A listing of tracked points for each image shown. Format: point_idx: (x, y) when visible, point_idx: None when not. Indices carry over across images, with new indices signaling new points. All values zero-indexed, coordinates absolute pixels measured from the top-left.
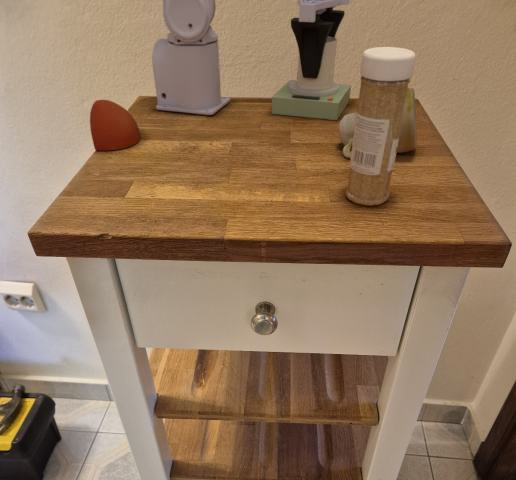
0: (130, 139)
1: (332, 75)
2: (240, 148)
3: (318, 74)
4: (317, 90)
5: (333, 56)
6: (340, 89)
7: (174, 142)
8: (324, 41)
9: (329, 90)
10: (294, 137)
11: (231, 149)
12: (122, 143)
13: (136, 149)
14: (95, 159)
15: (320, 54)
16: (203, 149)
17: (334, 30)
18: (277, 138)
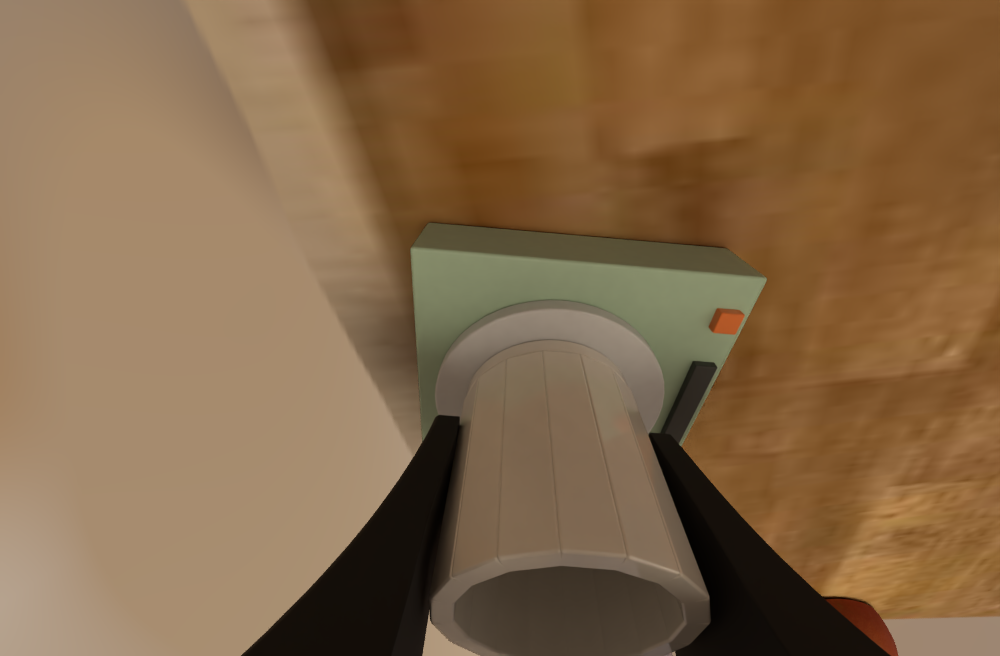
0: (868, 615)
1: (582, 375)
2: (949, 466)
3: (654, 440)
4: (634, 387)
5: (609, 458)
6: (517, 292)
7: (850, 561)
8: (860, 634)
9: (631, 343)
10: (901, 364)
11: (948, 480)
12: (879, 617)
13: (875, 592)
14: (911, 617)
15: (762, 542)
16: (922, 521)
17: (405, 616)
18: (894, 405)
